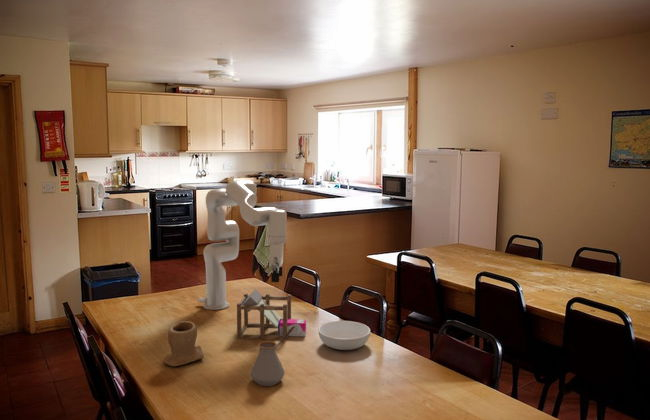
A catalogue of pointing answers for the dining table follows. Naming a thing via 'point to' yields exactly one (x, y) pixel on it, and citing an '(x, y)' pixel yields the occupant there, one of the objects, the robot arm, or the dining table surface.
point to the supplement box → (297, 323)
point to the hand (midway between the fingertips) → (276, 278)
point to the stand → (286, 313)
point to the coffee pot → (268, 363)
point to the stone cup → (183, 344)
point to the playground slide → (257, 300)
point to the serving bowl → (344, 334)
